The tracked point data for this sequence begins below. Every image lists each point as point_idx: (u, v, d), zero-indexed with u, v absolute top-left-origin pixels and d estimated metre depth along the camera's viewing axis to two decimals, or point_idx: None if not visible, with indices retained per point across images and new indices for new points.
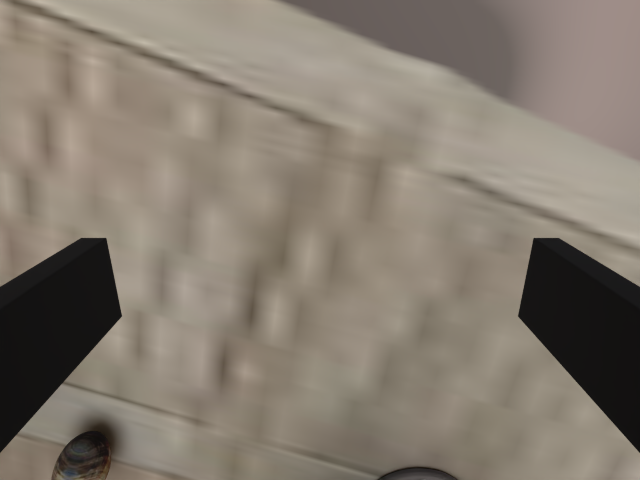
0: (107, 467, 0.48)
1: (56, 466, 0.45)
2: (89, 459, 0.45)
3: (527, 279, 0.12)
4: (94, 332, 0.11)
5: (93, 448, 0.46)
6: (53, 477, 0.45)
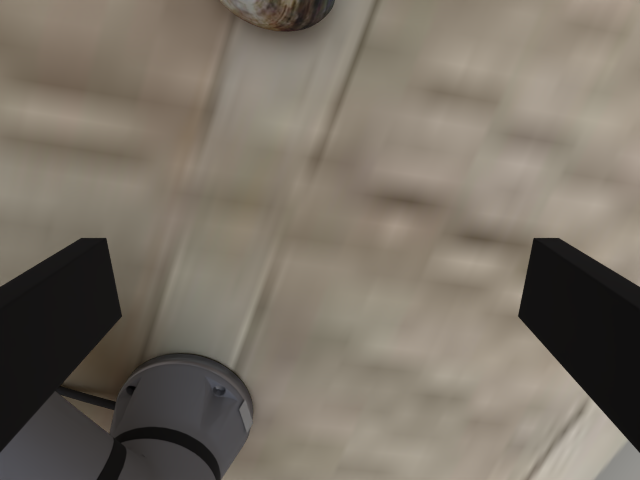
0: (271, 29, 0.30)
1: None
2: (313, 15, 0.28)
3: (527, 279, 0.12)
4: (94, 332, 0.11)
5: (321, 18, 0.29)
6: None
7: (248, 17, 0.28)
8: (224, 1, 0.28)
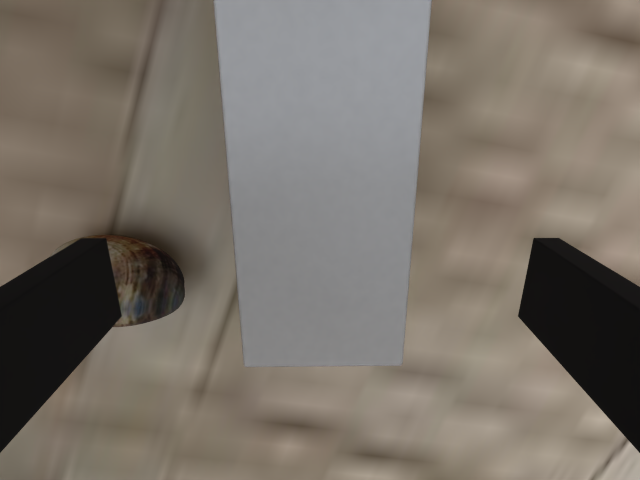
0: None
1: (139, 271, 0.25)
2: (158, 317, 0.27)
3: (527, 279, 0.12)
4: (94, 332, 0.11)
5: None
6: (120, 274, 0.24)
7: None
8: None
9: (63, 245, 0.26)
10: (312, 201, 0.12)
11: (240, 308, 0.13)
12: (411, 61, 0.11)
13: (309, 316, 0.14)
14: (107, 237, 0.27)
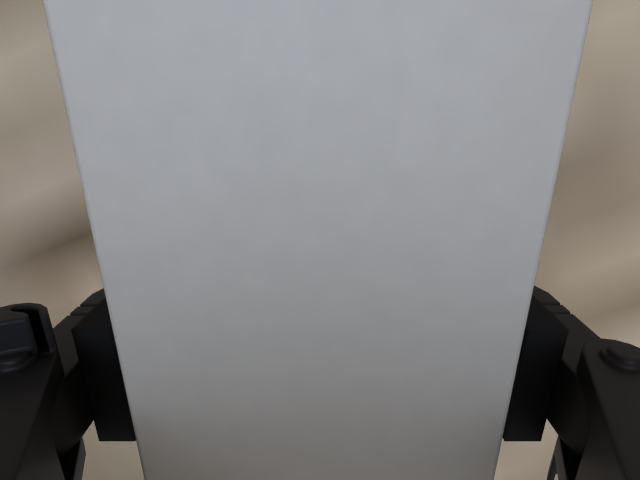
0: None
1: None
2: None
3: None
4: None
5: None
6: None
7: None
8: None
9: None
10: (296, 369, 0.06)
11: None
12: (541, 73, 0.04)
13: None
14: None
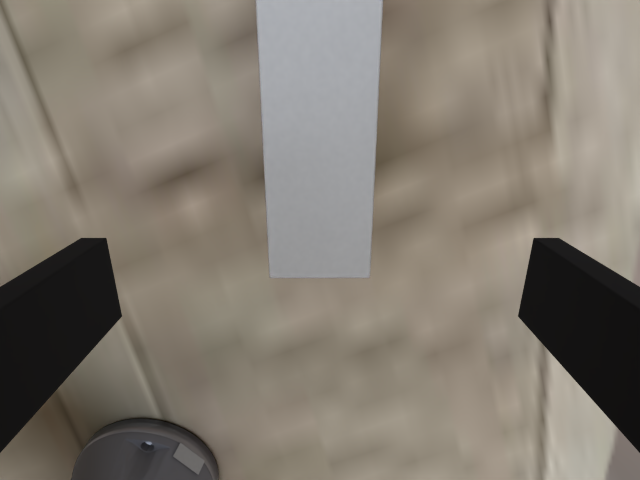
0: None
1: None
2: None
3: (526, 279, 0.12)
4: (94, 332, 0.11)
5: None
6: None
7: None
8: None
9: None
10: (313, 170, 0.20)
11: (268, 238, 0.22)
12: (369, 89, 0.19)
13: (311, 244, 0.22)
14: None
